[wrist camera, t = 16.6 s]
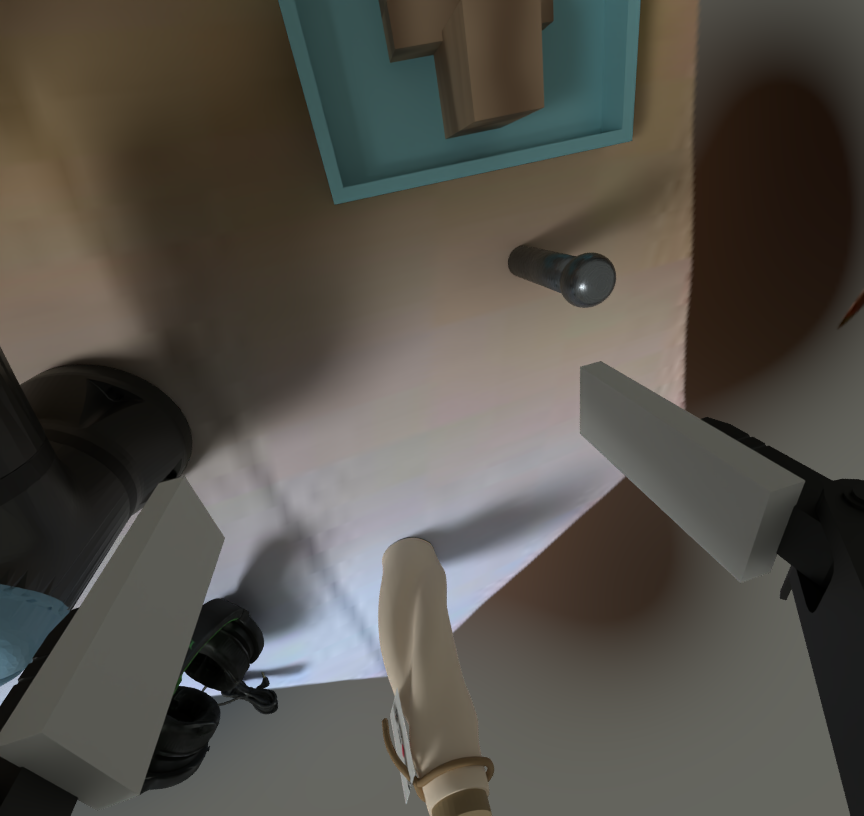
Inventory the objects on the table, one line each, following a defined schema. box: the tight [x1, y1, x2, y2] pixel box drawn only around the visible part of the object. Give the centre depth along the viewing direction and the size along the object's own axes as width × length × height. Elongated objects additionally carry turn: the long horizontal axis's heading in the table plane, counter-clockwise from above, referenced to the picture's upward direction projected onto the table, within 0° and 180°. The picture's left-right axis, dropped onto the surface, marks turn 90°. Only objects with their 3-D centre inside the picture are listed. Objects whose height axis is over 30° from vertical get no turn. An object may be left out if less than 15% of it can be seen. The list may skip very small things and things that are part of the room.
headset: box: [140, 598, 278, 795], centre depth 48 cm, size 18×14×29 cm
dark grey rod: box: [508, 246, 616, 308], centre depth 34 cm, size 4×4×14 cm
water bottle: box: [378, 538, 494, 816], centre depth 44 cm, size 10×9×28 cm
